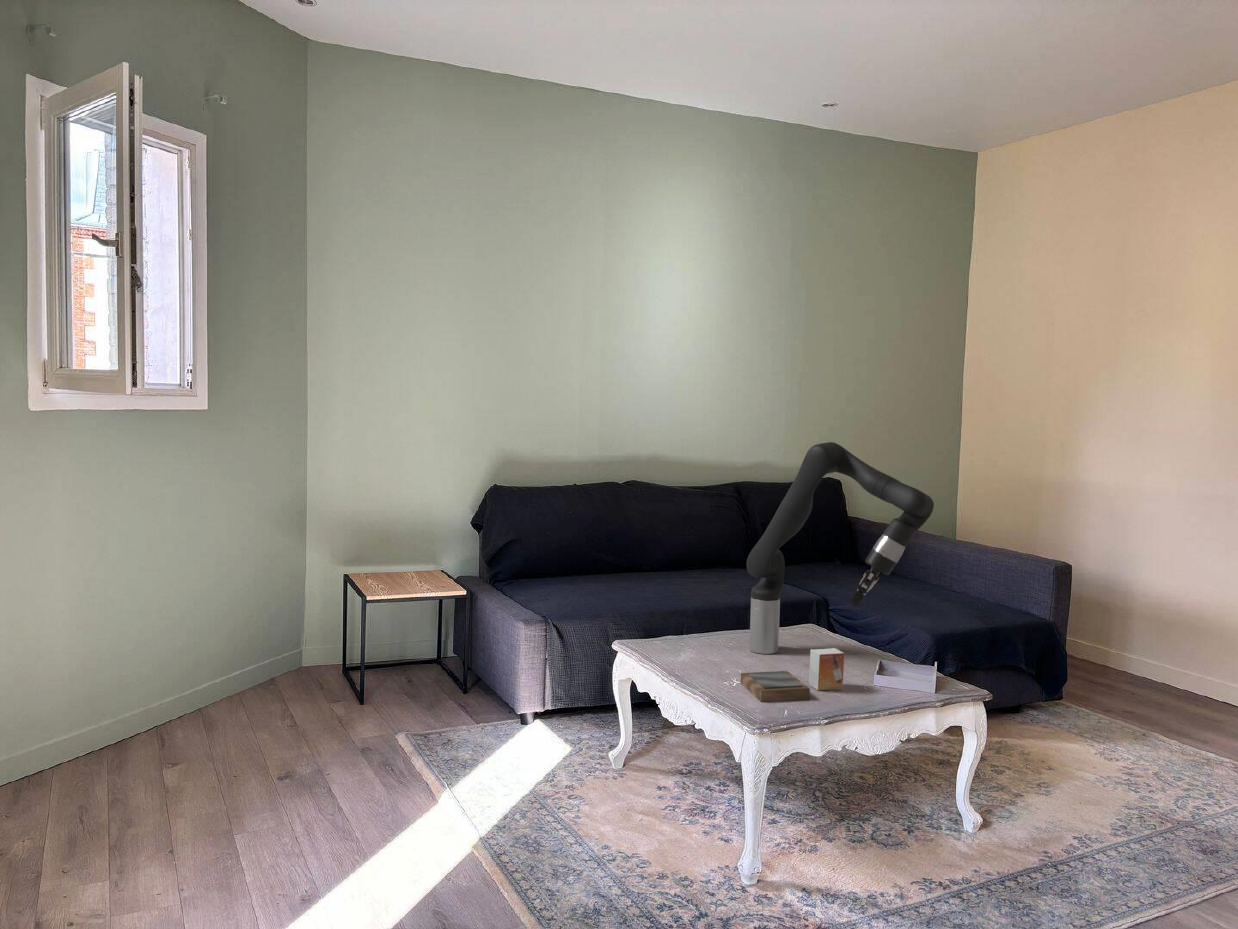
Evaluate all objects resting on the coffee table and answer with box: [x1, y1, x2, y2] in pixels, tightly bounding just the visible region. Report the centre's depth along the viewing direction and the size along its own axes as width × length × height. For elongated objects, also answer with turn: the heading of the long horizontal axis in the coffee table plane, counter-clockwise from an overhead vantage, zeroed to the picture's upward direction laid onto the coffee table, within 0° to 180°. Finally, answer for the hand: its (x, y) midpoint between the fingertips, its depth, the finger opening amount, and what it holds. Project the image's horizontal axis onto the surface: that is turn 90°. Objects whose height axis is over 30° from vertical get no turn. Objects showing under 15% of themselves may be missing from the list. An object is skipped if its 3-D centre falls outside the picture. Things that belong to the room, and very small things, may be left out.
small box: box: [808, 647, 845, 691], centre depth 267 cm, size 8×6×10 cm
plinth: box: [740, 670, 811, 703], centre depth 263 cm, size 16×14×3 cm
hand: (854, 603), depth 264 cm, fingers open, 8 cm apart
